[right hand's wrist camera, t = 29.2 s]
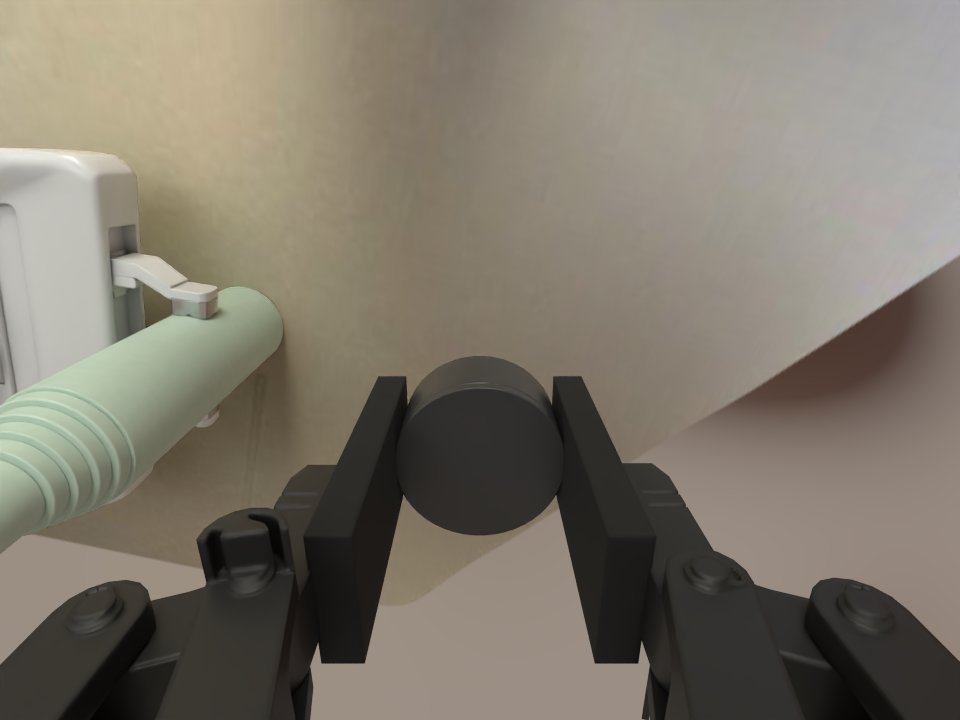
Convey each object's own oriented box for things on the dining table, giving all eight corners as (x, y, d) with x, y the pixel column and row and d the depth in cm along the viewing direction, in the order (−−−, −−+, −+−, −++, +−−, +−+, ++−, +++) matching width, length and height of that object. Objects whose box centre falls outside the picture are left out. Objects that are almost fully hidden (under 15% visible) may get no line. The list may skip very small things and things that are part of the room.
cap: (397, 359, 14) (384, 392, 12) (553, 350, 14) (565, 383, 12) (413, 490, 15) (403, 539, 13) (554, 483, 15) (565, 531, 13)
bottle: (257, 273, 34) (-91, 451, 13) (298, 344, 36) (46, 598, 15) (189, 304, 35) (-242, 518, 14) (232, 372, 37) (-95, 651, 16)
